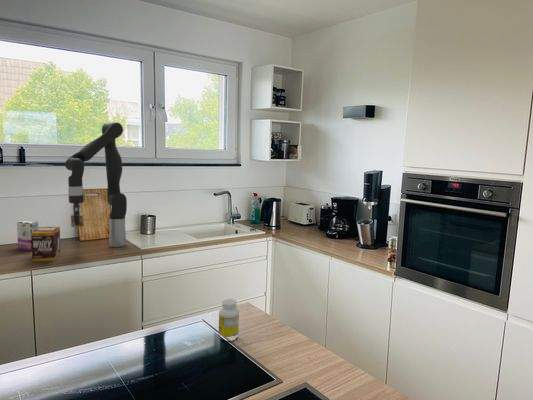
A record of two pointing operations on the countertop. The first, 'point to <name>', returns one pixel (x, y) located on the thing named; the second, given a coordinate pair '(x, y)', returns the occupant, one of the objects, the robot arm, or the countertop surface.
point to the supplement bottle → (228, 318)
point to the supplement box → (45, 243)
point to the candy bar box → (25, 234)
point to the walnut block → (74, 220)
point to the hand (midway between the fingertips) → (77, 223)
